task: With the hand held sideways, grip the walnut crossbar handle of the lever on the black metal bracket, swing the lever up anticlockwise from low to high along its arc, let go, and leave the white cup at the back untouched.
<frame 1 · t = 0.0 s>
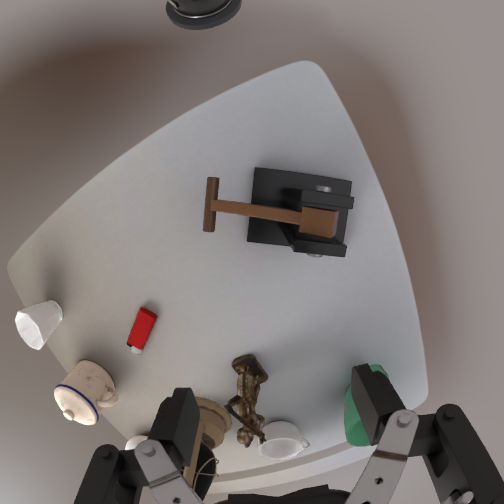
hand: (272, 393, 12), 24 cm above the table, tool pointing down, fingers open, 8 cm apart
mug: (359, 378, 40), on the table
teacup with lid: (101, 377, 41), on the table
lever: (264, 212, 25), point 9 cm above the table, hinge at -25.0°
bracket: (299, 209, 34), on the table
figurine: (247, 365, 39), on the table
lighter: (142, 329, 38), on the table
teacup: (283, 428, 43), on the table
lantern: (199, 418, 43), on the table
cup: (50, 312, 38), on the table
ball: (148, 438, 45), on the table
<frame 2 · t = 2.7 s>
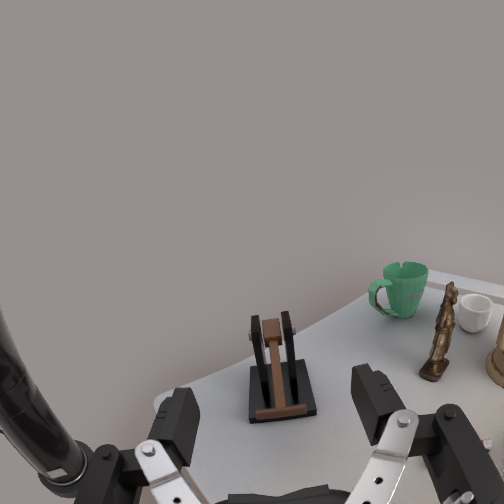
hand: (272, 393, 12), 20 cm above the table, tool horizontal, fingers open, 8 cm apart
mug: (395, 317, 51), on the table
lever: (276, 367, 30), point 9 cm above the table, hinge at -25.0°
bracket: (280, 392, 37), on the table
figurine: (431, 373, 32), on the table
teacup: (469, 325, 39), on the table
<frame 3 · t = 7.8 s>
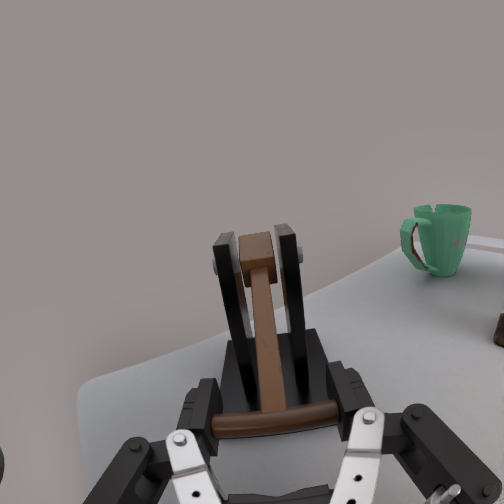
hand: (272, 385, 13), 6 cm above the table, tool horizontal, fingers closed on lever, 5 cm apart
mug: (433, 276, 35), on the table
lever: (264, 318, 15), point 9 cm above the table, hinge at -25.0°, touching gripper
bracket: (276, 382, 21), on the table
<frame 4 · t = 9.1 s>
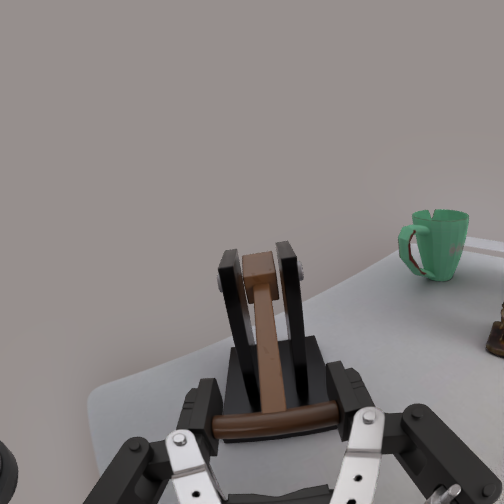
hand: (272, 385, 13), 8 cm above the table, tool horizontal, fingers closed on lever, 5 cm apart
mug: (430, 280, 36), on the table
lever: (266, 329, 15), point 10 cm above the table, hinge at -16.0°, touching gripper
bracket: (278, 388, 22), on the table
figurine: (500, 346, 18), on the table
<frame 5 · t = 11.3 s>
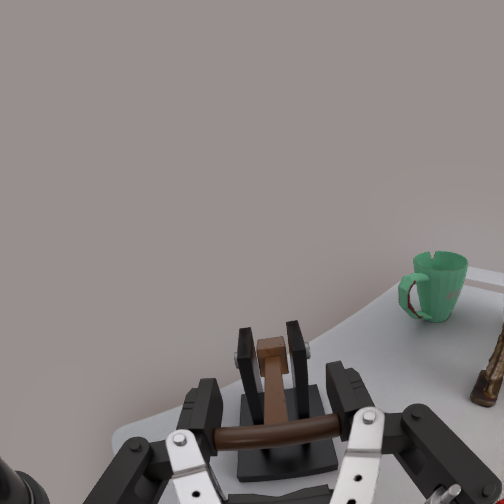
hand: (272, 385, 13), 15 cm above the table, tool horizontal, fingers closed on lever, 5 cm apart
mug: (427, 321, 37), on the table
lever: (274, 382, 16), point 12 cm above the table, hinge at 16.1°, touching gripper
bracket: (284, 433, 24), on the table
figurine: (484, 394, 19), on the table
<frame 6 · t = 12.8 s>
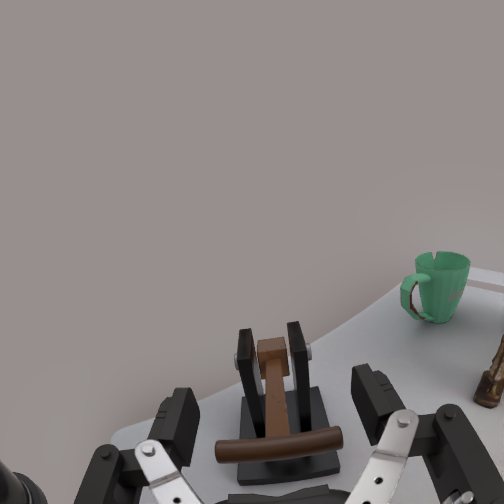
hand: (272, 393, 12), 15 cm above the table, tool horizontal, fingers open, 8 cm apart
mug: (429, 322, 37), on the table
lever: (275, 388, 15), point 12 cm above the table, hinge at 12.9°
bracket: (285, 436, 23), on the table
figurine: (487, 395, 18), on the table
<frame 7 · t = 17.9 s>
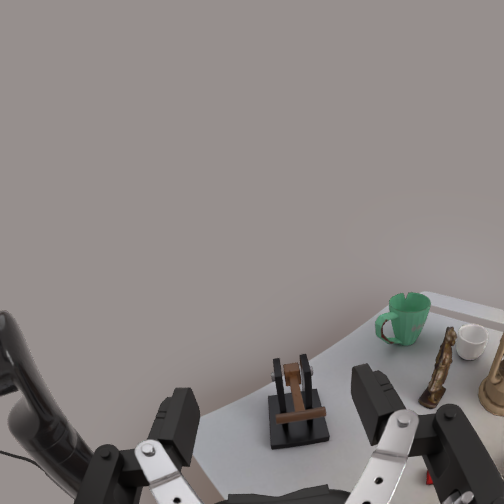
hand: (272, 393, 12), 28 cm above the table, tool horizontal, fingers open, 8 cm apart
mug: (398, 344, 53), on the table
lever: (295, 390, 32), point 12 cm above the table, hinge at 12.9°
bracket: (296, 419, 39), on the table
figurine: (429, 400, 34), on the table
teacup: (466, 352, 42), on the table
lantern: (503, 393, 26), on the table
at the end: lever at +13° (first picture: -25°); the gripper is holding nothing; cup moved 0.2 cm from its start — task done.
